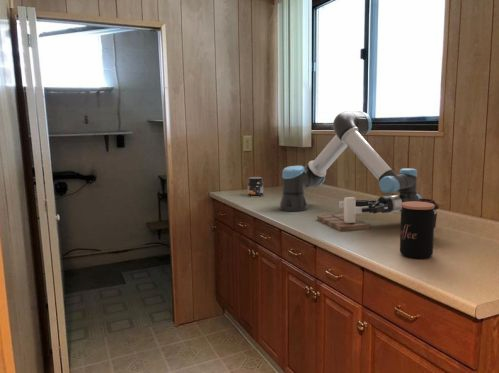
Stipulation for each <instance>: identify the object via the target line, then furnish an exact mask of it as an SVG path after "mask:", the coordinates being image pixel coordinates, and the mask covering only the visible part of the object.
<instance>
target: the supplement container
mask: <svg viewBox="0 0 499 373" xmlns="http://www.w3.org/2000/svg"><path fill="white" fill-rule="evenodd" d="M247 195H248V196H249V195H250V196H249V197H251V196H259V197H262V196H261V195H263V196H264V181H263V177H261V176H250V177H247Z"/></svg>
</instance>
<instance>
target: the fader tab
mask: <svg viewBox="0 0 499 373" xmlns="http://www.w3.org/2000/svg"><path fill="white" fill-rule="evenodd" d="M356 200H357V198H356V197H355V196H348V197H344V198H343V202H344V208H343V214H344V222H346V223H355V218H356V214H354V207H357V206H356Z"/></svg>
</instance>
